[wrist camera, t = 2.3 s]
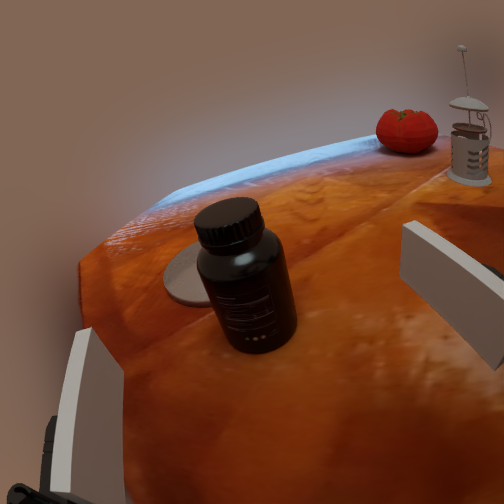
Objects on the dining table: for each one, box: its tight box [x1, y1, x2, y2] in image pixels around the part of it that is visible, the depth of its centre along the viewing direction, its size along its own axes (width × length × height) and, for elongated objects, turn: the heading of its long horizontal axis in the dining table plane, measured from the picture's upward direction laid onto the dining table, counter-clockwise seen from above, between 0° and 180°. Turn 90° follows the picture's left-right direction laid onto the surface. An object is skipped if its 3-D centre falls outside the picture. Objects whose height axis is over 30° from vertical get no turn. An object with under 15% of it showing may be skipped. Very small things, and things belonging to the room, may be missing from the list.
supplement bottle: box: [194, 197, 297, 353], centre depth 24 cm, size 7×7×12 cm
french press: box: [447, 45, 492, 186], centre depth 38 cm, size 10×12×25 cm
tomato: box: [376, 109, 438, 154], centre depth 60 cm, size 14×16×10 cm
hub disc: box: [163, 241, 212, 307], centre depth 37 cm, size 14×14×1 cm
